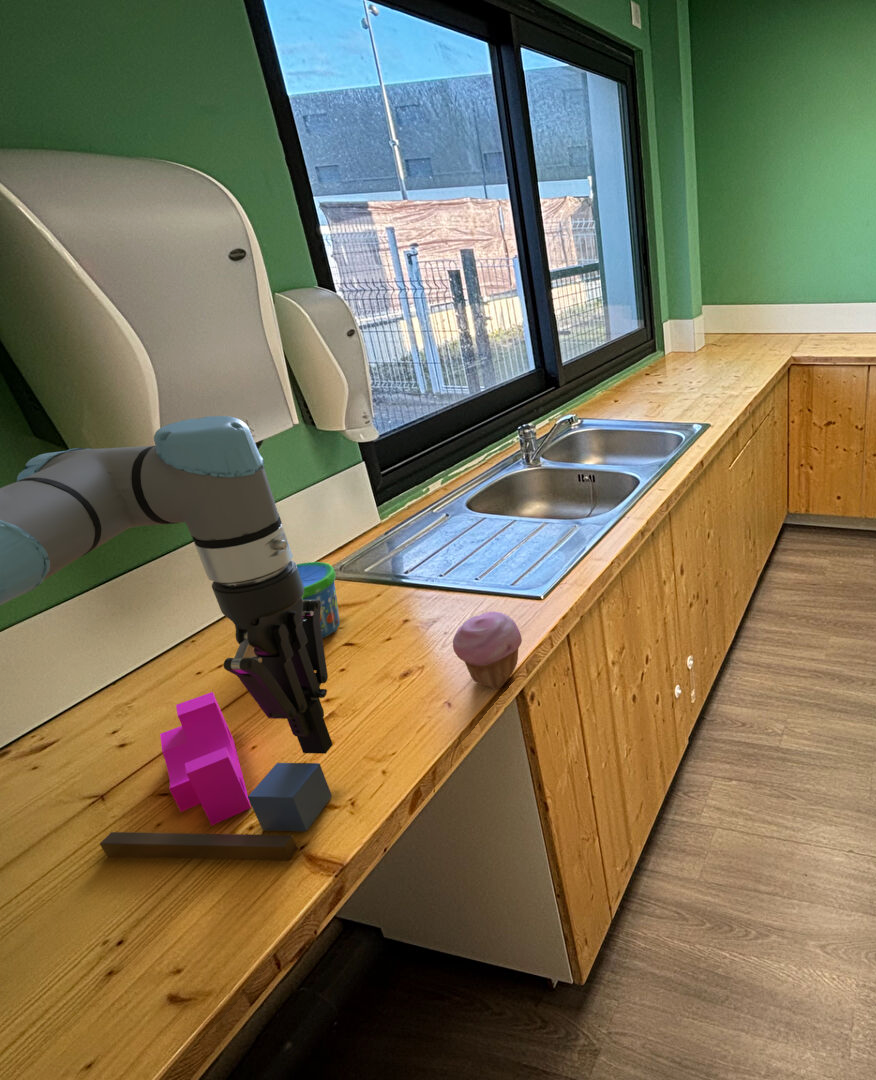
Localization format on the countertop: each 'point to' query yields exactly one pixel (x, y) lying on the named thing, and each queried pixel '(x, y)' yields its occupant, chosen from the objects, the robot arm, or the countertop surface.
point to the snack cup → (321, 592)
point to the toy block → (204, 761)
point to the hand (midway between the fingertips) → (318, 748)
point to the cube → (290, 797)
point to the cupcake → (488, 647)
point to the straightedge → (199, 846)
